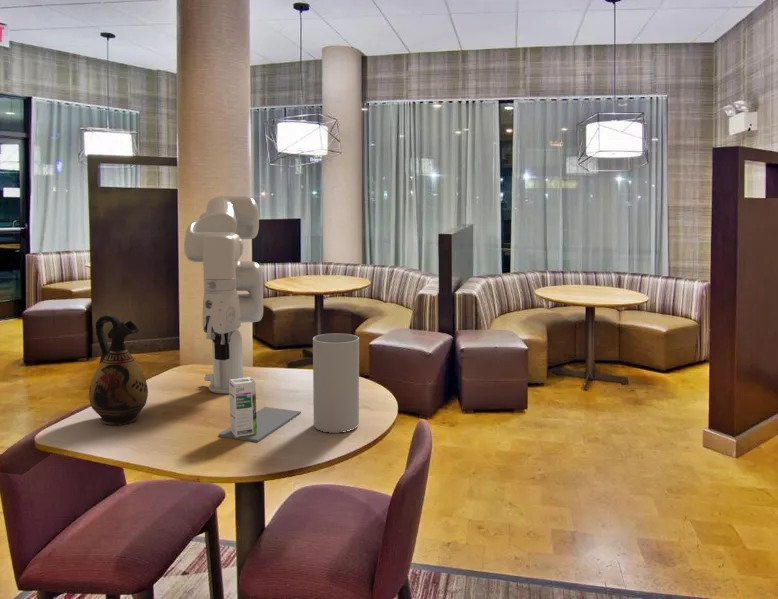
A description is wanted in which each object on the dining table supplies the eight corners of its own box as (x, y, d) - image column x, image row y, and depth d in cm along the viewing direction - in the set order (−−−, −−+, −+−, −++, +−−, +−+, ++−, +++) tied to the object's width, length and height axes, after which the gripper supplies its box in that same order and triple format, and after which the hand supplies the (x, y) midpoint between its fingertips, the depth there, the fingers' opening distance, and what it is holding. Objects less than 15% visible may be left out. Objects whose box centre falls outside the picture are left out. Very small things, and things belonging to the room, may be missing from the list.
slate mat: (218, 436, 167) (218, 433, 167) (265, 408, 190) (265, 406, 189) (258, 442, 163) (258, 439, 163) (301, 413, 186) (301, 411, 186)
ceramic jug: (160, 413, 185) (155, 312, 180) (128, 431, 170) (122, 322, 165) (108, 408, 188) (102, 309, 184) (73, 426, 173) (65, 319, 169)
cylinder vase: (317, 418, 182) (316, 333, 178) (360, 419, 181) (360, 333, 178) (310, 433, 169) (309, 342, 166) (356, 434, 169) (357, 343, 165)
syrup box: (235, 438, 164) (234, 384, 162) (230, 430, 169) (228, 378, 167) (257, 434, 167) (256, 381, 165) (251, 427, 172) (249, 375, 170)
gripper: (215, 290, 145) (217, 367, 148) (249, 282, 159) (251, 354, 162) (187, 288, 148) (190, 364, 150) (224, 281, 161) (226, 351, 164)
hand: (222, 359), depth 156 cm, fingers closed
